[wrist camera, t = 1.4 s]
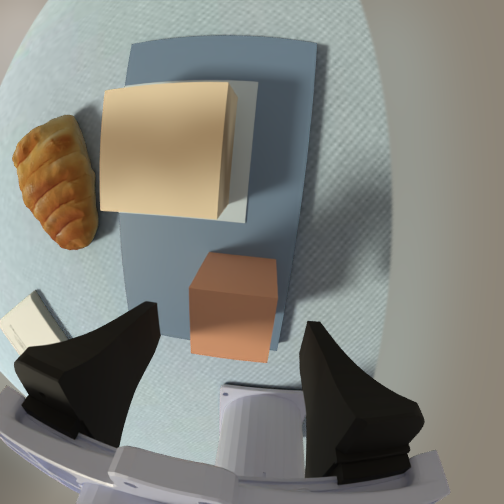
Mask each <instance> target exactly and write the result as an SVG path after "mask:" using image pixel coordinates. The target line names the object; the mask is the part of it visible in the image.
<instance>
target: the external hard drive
mask: <svg viewBox="0 0 504 504" xmlns="http://www.w3.org/2000/svg"><path fill="white" fill-rule="evenodd" d="M0 328H1V329H2V331H3V332H4V334H5V335H6V337H7V338H8V340H9V341H10V343H11V344H12V345H13V347H14V348H15V350H16V351H17V352H18V354H19V355H21V354H22V353H23V352H24V351H25V350H26V349H27V348H28V347H30V346H40V345H48V344H53V343H58V342H62V341H66V340H69V339H68V338H67V337H66V335H65V334H64V333H63V331H62V330H61V328H60V327H59V326H58V324H57V323H56V321H55V320H54V318H53V317H52V315H51V314H50V313H49V311H48V309H47V308H46V306H45V305H44V303H43V302H42V300H41V298H40V297H39V295H38V294H37V292H36V290H34V291H33V292H32V293H31V294H30V295H28V296H27V297H26V298H25V299H24V300H22V301H21V302H20V303H19V304H18V305H17V306H15V307H14V308H13V309H12V310H11V311H10V312H8V313H7V314H6V315H5V316H4V317H3V318H2V319H1V320H0Z"/></svg>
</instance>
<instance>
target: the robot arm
mask: <svg viewBox="0 0 504 504" xmlns="http://www.w3.org/2000/svg"><path fill="white" fill-rule="evenodd" d="M160 336H161V334H160V325H159V316H158V306H157V303H156V302H150V301H145V302H143V303H141V304H139V305H138V306H136V307H134V308H133V309H131V310H130V311H128V312H126V313H125V314H123V315H121V316H120V317H118V318H117V319H115V320H113V321H111V322H109V323H107V324H106V325H104V326H102V327H100V328H98V329H96V330H94V331H91V332H89V333H87V334H84V335H81V336H78V337H75V338H72V339H69V340H66V341H62V342H58V343H53V344H48V345H40V346H30V347H28V348H27V349H26V350H25V351H24V352H23V353H22V354H21V355H20V357H19V358H18V359H17V360H16V361H15V362H14V368H15V372H16V374H17V376H18V378H19V379H20V381H21V383H22V384H23V386H24V388H25V389H26V391H27V393H28V394H29V395H28V396H27V398H26V399H25V397H24V396H23V395H21V394H20V393H19V392H17V391H16V390H14V389H12V388H11V387H10V386H6V387H5V388H4V389H3V390H2V392H1V393H0V438H1V439H2V440H3V441H4V442H5V443H6V444H7V445H8V446H9V447H10V448H11V449H12V450H13V451H15V452H16V453H17V454H19V455H20V456H21V457H23V458H24V459H25V460H27V461H28V462H30V463H31V464H33V465H34V466H35V467H37V468H38V469H40V470H41V471H42V472H44V473H45V474H47V475H49V476H50V477H52V478H53V479H55V480H57V481H58V482H60V483H61V484H63V485H65V486H66V487H68V488H70V489H72V490H73V491H75V492H77V493H79V496H78V499H77V502H76V504H435V503H436V502H438V501H440V500H441V499H443V498H445V497H446V496H448V495H449V494H450V489H449V486H448V482H447V479H446V476H445V473H444V470H443V467H442V464H441V462H440V459H439V456H438V453H437V451H436V450H433V451H429V452H426V453H422V454H419V455H416V456H413V457H411V458H410V459H409V457H408V454H407V453H409V451H410V447H409V443H410V442H411V440H412V439H413V438H414V437H415V436H416V435H417V434H418V433H419V432H420V430H421V429H422V427H423V425H424V417H423V415H422V413H421V410H420V408H419V406H418V404H417V403H416V402H414V401H412V400H409V399H407V398H405V397H403V396H401V395H398V394H396V393H395V392H393V391H391V390H389V389H388V388H386V387H385V386H383V385H381V384H380V383H379V382H377V381H376V380H374V379H373V378H372V377H370V376H369V375H368V374H366V373H365V372H364V371H363V370H362V369H361V368H360V367H358V366H357V365H356V364H355V363H354V362H353V361H352V360H351V359H350V358H349V357H348V356H347V355H346V354H345V352H344V351H343V350H342V349H341V348H340V347H339V345H338V344H337V343H336V342H335V341H334V339H333V338H332V337H331V335H330V334H329V333H328V331H327V330H326V329H325V328H324V326H323V325H322V324H321V322H316V321H307V325H306V329H305V333H304V337H303V341H302V345H301V349H300V353H299V359H300V376H301V382H302V388H303V391H297V390H278V389H265V388H254V387H244V386H235V385H228V384H224V385H222V386H221V388H220V419H219V443H218V449H217V455H216V461H215V466H214V465H210V464H205V463H199V462H194V461H189V460H184V459H179V458H175V457H171V456H166V455H162V454H159V453H155V452H151V451H148V450H144V449H141V448H137V447H132V446H123V447H119V445H120V440H121V436H122V432H123V428H124V424H125V420H126V417H127V413H128V410H129V407H130V404H131V401H132V398H133V395H134V393H135V390H136V388H137V386H138V384H139V382H140V380H141V378H142V376H143V374H144V372H145V370H146V368H147V366H148V364H149V362H150V361H151V359H152V357H153V355H154V353H155V350H156V348H157V345H158V342H159V339H160ZM305 416H306V430H307V435H306V468H305V465H304V448H303V433H302V423H303V421H304V418H305Z"/></svg>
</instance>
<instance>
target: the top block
mask: <svg viewBox="0 0 504 504" xmlns="http://www.w3.org/2000/svg"><path fill="white" fill-rule="evenodd" d="M277 301H278V287H277V266H276V259H269V258H260V257H251V256H241V255H232V254H223V253H214V252H209V253H208V254H207V256H206V258H205V260H204V261H203V263H202V265H201V267H200V268H199V270H198V272H197V274H196V276H195V277H194V279H193V281H192V283H191V285H190V286H189V318H190V342H191V353H193V354H199V355H205V356H212V357H219V358H226V359H234V360H243V361H252V362H262V363H267V360H268V355H269V349H270V343H271V338H272V332H273V326H274V320H275V314H276V308H277Z"/></svg>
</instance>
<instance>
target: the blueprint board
mask: <svg viewBox="0 0 504 504" xmlns="http://www.w3.org/2000/svg"><path fill="white" fill-rule="evenodd" d="M316 52H317V43H312V42H306V41H299V40H292V39H283V38H273V37H260V36H235V35H218V36H193V37H180V38H170V39H161V40H154V41H147V42H141V43H135V44H132V46H131V51H130V57H129V62H128V68H127V75H126V82H125V86H124V88H126V87H133V86H142V85H152V84H164V83H182V82H229V84H230V85H231V87H232V89H233V90H234V92H235V94H236V95H237V97H238V101H237V110H236V121H235V131H234V142H233V154H232V165H231V178H230V190H229V204H228V205H227V207H226V208H225V209H224V211H223V212H222V214H221V215H220V216H219V218H218V219H217V220H215V219H204V218H193V217H181V216H169V215H156V214H143V213H128V212H118V213H119V222H120V239H121V252H122V263H123V272H124V281H125V289H126V296H127V303H128V309H129V311H130V310H131V309H133V308H134V307H136V306H138V305H139V304H141V303H143V302H145V301H150V302H156V303H157V306H158V316H159V325H160V334H161V335H164V336H170V337H175V338H181V339H187V340H190V318H189V286H190V285H191V283H192V281H193V279H194V277H195V276H196V274H197V272H198V270H199V268H200V267H201V265H202V263H203V261H204V260H205V258H206V256H207V254H208V253H209V252H214V253H223V254H232V255H241V256H251V257H260V258H269V259H276V266H277V287H278V301H277V308H276V314H275V320H274V326H273V332H272V338H271V343H270V349H269V350H274V351H277V348H278V343H279V337H280V332H281V327H282V322H283V316H284V311H285V305H286V299H287V294H288V288H289V282H290V276H291V270H292V264H293V257H294V251H295V244H296V238H297V231H298V224H299V217H300V210H301V203H302V195H303V187H304V179H305V171H306V163H307V154H308V145H309V136H310V126H311V116H312V105H313V94H314V81H315V68H316Z"/></svg>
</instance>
